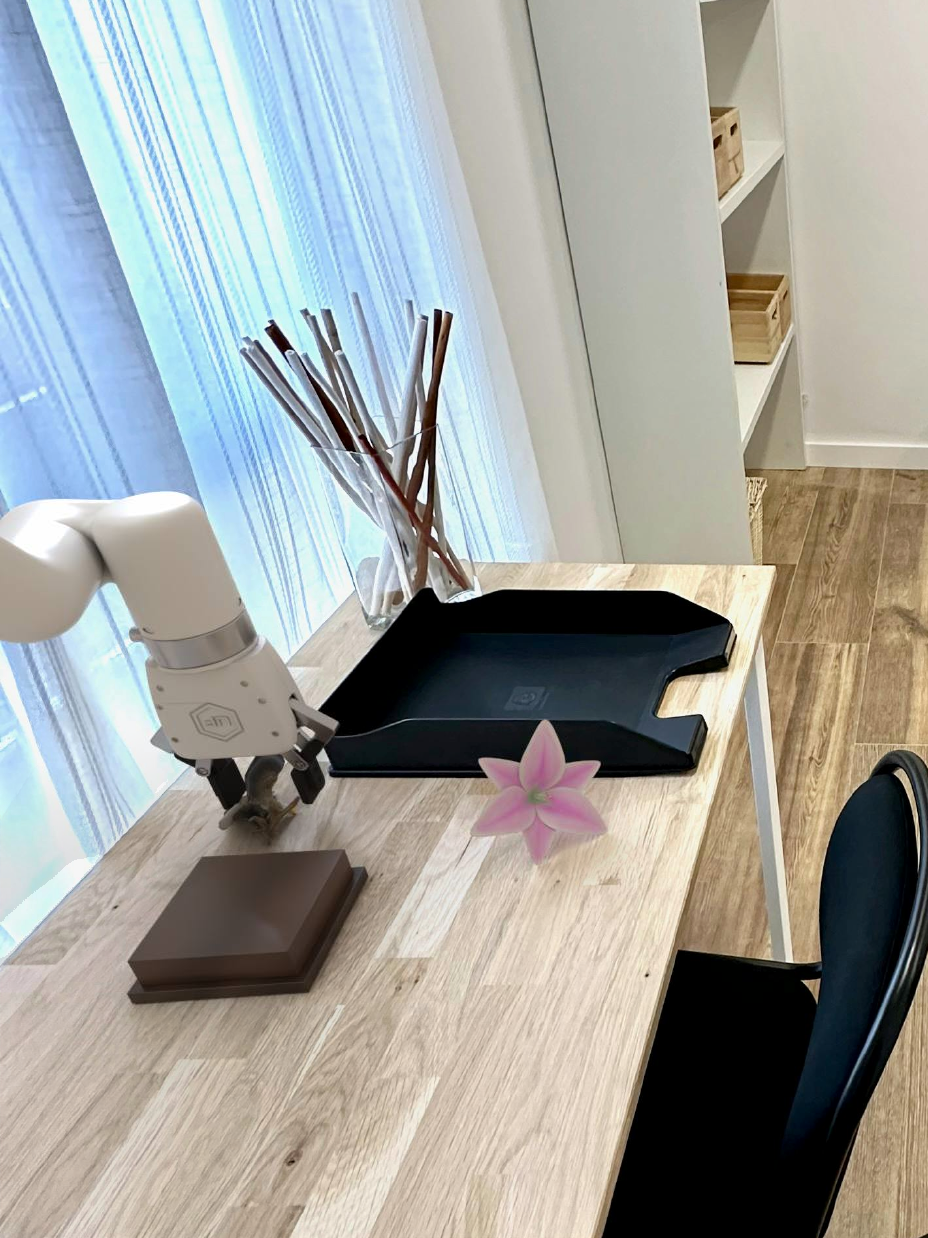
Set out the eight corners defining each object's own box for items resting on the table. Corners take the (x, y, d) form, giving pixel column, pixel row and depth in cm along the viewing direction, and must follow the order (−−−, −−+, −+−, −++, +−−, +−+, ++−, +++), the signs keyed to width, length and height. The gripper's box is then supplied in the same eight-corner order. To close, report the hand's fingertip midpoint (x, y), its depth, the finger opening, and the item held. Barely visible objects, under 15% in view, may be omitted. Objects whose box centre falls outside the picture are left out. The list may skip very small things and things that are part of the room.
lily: (461, 885, 98) (476, 834, 91) (459, 772, 104) (473, 717, 97) (599, 877, 104) (622, 830, 98) (589, 771, 110) (610, 720, 104)
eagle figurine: (335, 811, 102) (306, 752, 107) (270, 786, 96) (243, 724, 101) (271, 869, 101) (244, 807, 106) (202, 847, 95) (177, 782, 100)
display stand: (132, 1004, 85) (111, 969, 82) (213, 884, 96) (197, 851, 93) (308, 992, 86) (292, 957, 84) (368, 876, 97) (356, 842, 95)
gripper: (65, 666, 88) (156, 831, 98) (290, 654, 90) (357, 817, 99) (117, 618, 94) (197, 778, 104) (326, 608, 96) (386, 766, 106)
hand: (275, 796), depth 102 cm, fingers closed on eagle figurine, 6 cm apart
